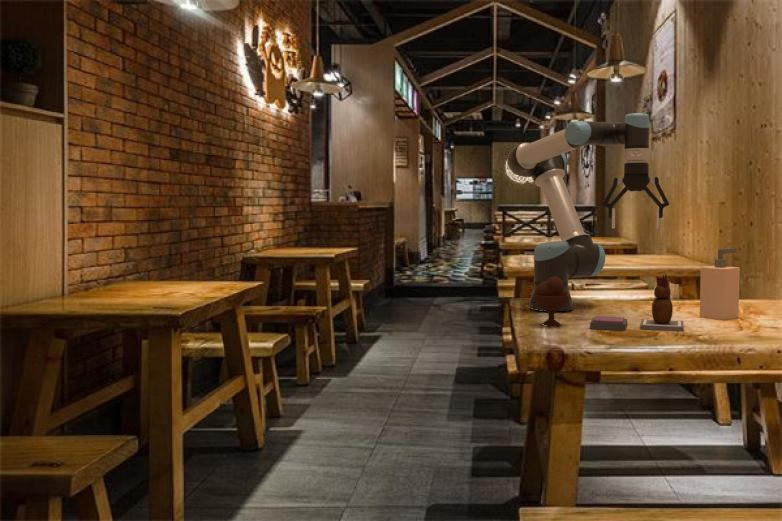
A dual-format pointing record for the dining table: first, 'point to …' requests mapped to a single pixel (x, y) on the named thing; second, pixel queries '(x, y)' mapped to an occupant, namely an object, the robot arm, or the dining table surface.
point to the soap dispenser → (720, 289)
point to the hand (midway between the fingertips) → (635, 228)
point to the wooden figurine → (662, 303)
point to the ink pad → (608, 323)
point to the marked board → (662, 325)
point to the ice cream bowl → (551, 298)
